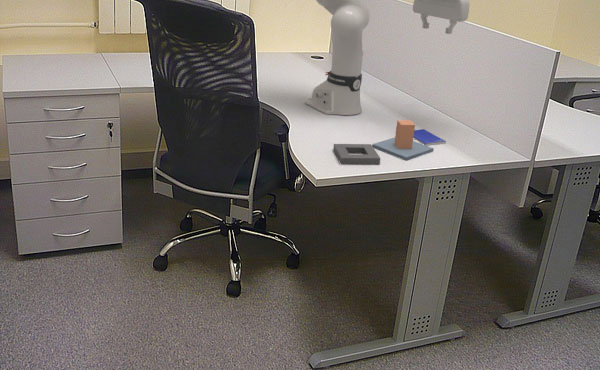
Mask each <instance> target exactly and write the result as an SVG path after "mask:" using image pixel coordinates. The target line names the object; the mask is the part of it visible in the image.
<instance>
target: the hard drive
mask: <svg viewBox="0 0 600 370" xmlns="http://www.w3.org/2000/svg"><path fill="white" fill-rule="evenodd" d="M413 138H414V139H413V140H414V141H416V140H417V141H416V142H418V141H419V142H418V143H420V144H424V145H426V146H429V147H431V146H437V145H445V144H446V143H447V141H446V140H445V139H443V138H441V137H439V136H438V135H435V134H434V133H432V132H430V131H428V130H426V129H425V128H424V129H414V136H413Z"/></svg>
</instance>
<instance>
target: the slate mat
mask: <svg viewBox="0 0 600 370" xmlns="http://www.w3.org/2000/svg"><path fill="white" fill-rule="evenodd" d="M394 142H395V137H392V138H388V139H385V140H381V141H379V142H375V143H371V145H372V147H373V148H374V149H376V150H378V151H382V152H384V153H385V154H386V153H387V154H389V155H391V156H394V157H396V158H400V159H402V160H404V161H409V160H412V159H414V158H418V157H420V156H423V155H426V154H429V153H432V152H434V147H431V146H426V145H423V144H422V143H420V142H418V141H416V140H413V143H412V149H398V148H397V146H396V145H395V144H394Z"/></svg>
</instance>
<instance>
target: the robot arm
mask: <svg viewBox="0 0 600 370" xmlns="http://www.w3.org/2000/svg"><path fill="white" fill-rule="evenodd" d="M315 1H316V2H317V4H319V5H320V6H321V7H323V8H324V9H325V10H326V11H327V12H329V13H330V14H331V15H332V16H331V20H330V28H331V43H332V55H331V56H332V57H331V67H330V68H331V70H330V71H326V72H325V76H327V78H326V80H325V81H323V82H321V83H320V84H318V85H317V86H315V87H314V88H313V91H312V92H311V93H312V95H311V97H310V98H307V99H306V100H304V101H305V102H304V103H305V104H306V105H308V106H310V107H311V108H312V109H313V108H314V109H315V110H317V111H319V112H321V113H323V114H325V115H341V116H353V115H358V114H360V113H362V105H361V85H362V79H363V73H362V68H363V67H362V66H363V60H364V59H363V56H364V51H363V30H364V29H366V28H367V26H368V25H369V23H370V19H371V18H370V17H371V15H370V10H369V8H368V7H367V5H366V4H365V3H363V2H362V1H361V0H315ZM412 11H413V13H416V14H420V19H421V23H422V28H423V29H426V30H427V29H429V28H430V22H428V19H427V18H428V17H429V16H431V17H434V18H440V19H444V20H449V26H448V27H445V31H444V32H445V34H447V35H451V34H453V29H454V28H455V26H456V25H457V23H458V22H459V23H462V22H466V21H467V19H468V18H469V14H470V13H469V12H470V0H413V5H412Z"/></svg>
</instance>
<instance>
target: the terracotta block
mask: <svg viewBox="0 0 600 370" xmlns="http://www.w3.org/2000/svg"><path fill="white" fill-rule="evenodd" d="M415 127H416V124H415V123H414V122H413V121H412V119H411V120H408V119H407V120H405V119H401V120H400V119H398V120H397V121H396V128H395V142H394V144H395V145H396V146H397V148H398V149H412V143H413V141H414V139H413V136H414V130H416V128H415Z"/></svg>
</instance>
